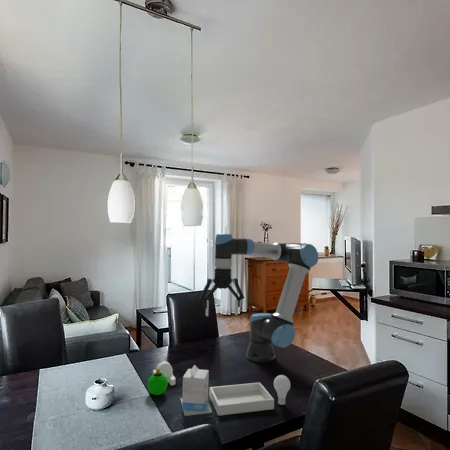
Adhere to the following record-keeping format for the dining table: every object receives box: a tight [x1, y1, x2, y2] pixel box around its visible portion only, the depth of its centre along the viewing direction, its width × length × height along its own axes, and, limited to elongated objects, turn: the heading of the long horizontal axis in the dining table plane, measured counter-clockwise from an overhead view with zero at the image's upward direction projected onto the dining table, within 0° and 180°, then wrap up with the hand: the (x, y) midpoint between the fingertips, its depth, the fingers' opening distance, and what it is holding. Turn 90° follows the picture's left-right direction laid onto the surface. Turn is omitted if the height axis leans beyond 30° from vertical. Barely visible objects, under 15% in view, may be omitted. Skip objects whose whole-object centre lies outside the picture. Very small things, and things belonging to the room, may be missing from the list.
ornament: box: [146, 368, 169, 396], centre depth 131 cm, size 8×8×10 cm
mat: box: [179, 397, 213, 417], centre depth 123 cm, size 10×12×1 cm
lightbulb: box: [273, 374, 291, 406], centre depth 126 cm, size 6×6×11 cm
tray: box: [208, 381, 275, 416], centre depth 127 cm, size 22×15×4 cm
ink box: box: [181, 364, 210, 411], centre depth 123 cm, size 9×8×13 cm
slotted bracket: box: [152, 360, 176, 386], centre depth 145 cm, size 13×7×8 cm, turn 26°
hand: (221, 315), depth 147 cm, fingers open, 13 cm apart
